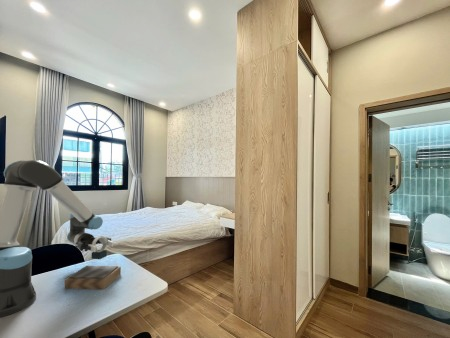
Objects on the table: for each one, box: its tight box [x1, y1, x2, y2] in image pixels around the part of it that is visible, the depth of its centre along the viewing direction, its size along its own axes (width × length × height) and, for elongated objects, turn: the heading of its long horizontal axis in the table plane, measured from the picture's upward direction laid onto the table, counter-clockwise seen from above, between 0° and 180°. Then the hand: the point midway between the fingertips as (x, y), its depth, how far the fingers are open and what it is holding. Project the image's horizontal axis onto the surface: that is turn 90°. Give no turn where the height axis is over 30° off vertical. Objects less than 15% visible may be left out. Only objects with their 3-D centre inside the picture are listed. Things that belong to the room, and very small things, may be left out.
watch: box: [91, 235, 108, 260], centre depth 106 cm, size 6×8×11 cm
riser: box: [64, 265, 122, 290], centre depth 102 cm, size 20×14×5 cm
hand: (104, 246), depth 103 cm, fingers closed on watch, 8 cm apart
